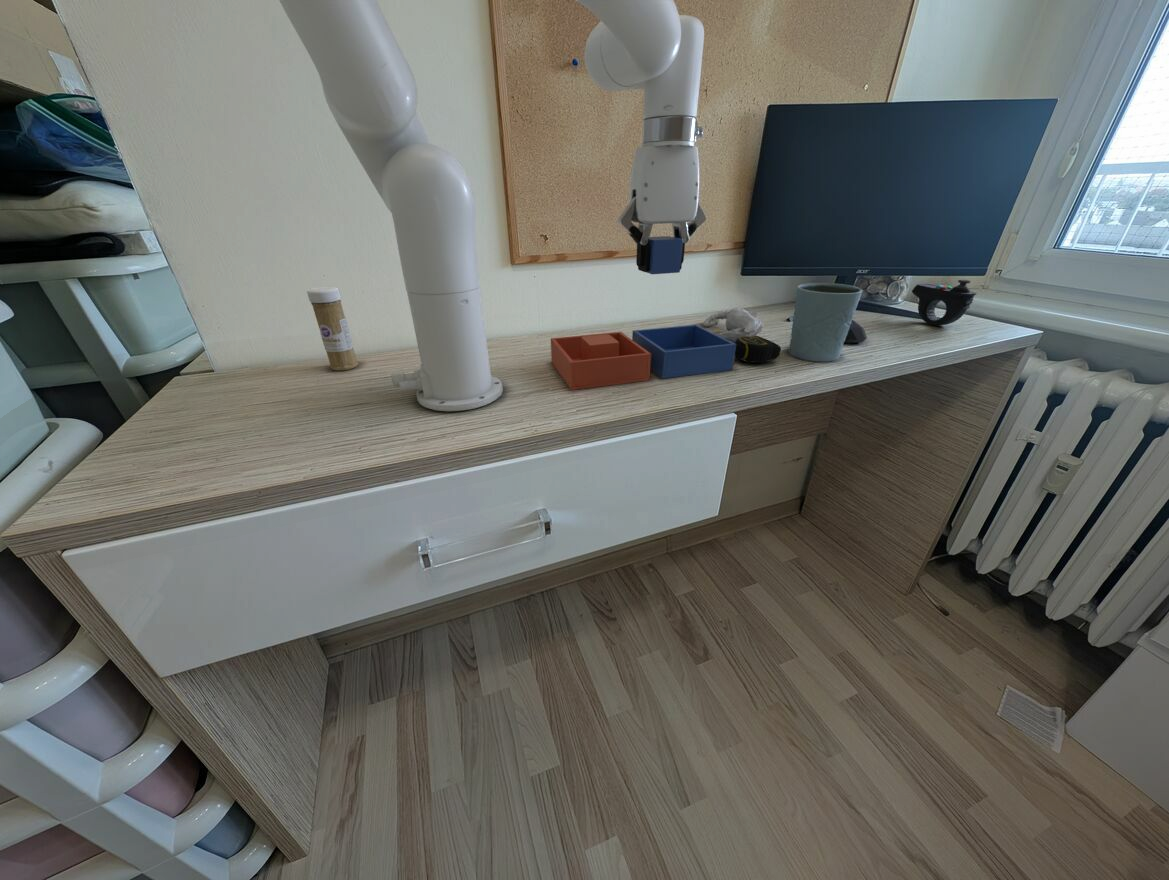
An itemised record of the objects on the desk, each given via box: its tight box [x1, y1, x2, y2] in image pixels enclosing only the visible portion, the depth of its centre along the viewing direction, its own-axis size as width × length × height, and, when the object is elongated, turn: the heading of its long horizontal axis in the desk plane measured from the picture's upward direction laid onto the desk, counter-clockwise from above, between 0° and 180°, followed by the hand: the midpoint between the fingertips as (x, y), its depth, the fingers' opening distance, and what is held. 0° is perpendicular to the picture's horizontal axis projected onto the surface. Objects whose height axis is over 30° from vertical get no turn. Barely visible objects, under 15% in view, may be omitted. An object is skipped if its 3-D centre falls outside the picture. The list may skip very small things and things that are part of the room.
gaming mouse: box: [844, 319, 868, 344], centre depth 91 cm, size 6×15×4 cm, turn 17°
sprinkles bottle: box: [306, 285, 359, 371], centre depth 74 cm, size 5×5×13 cm
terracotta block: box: [581, 334, 619, 360], centre depth 73 cm, size 5×5×5 cm
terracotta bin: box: [550, 331, 651, 391], centre depth 73 cm, size 13×13×4 cm
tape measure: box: [734, 335, 782, 364], centre depth 78 cm, size 7×7×4 cm
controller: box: [911, 279, 978, 327], centre depth 97 cm, size 4×12×10 cm, turn 17°
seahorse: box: [702, 307, 764, 343], centre depth 92 cm, size 5×12×20 cm
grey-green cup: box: [788, 282, 863, 363], centre depth 78 cm, size 10×10×12 cm
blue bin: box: [631, 324, 736, 380], centre depth 77 cm, size 13×13×4 cm
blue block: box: [646, 235, 683, 275], centre depth 70 cm, size 5×5×5 cm
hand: (659, 268), depth 71 cm, fingers closed on blue block, 5 cm apart
